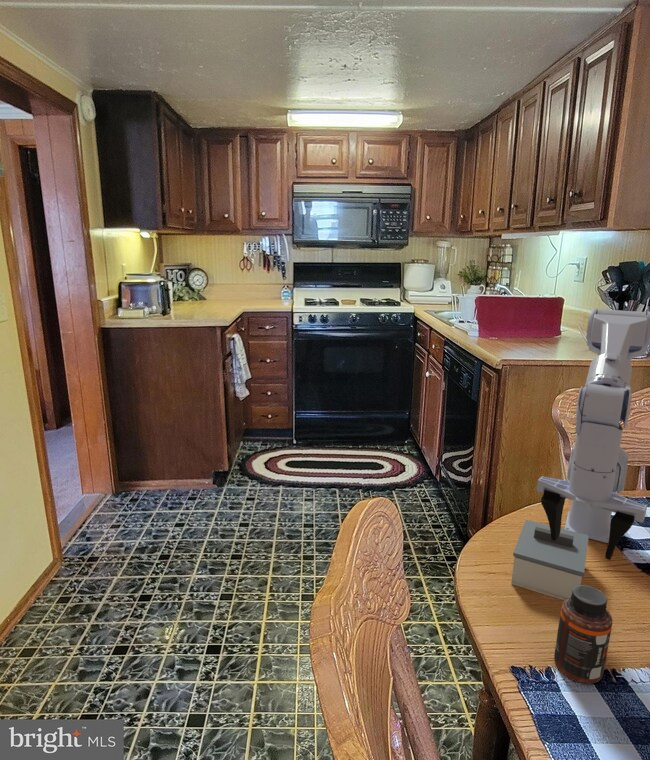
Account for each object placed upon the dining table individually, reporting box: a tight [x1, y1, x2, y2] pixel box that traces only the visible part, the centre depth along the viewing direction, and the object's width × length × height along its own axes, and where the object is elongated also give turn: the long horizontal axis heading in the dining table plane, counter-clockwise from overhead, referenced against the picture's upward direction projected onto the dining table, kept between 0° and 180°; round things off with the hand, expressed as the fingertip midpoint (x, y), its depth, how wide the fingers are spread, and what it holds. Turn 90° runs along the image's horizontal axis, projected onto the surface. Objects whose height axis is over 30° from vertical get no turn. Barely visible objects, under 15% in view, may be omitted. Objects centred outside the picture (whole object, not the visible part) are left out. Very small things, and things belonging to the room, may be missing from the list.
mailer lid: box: [512, 519, 589, 577], centre depth 86 cm, size 12×10×2 cm
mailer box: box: [510, 556, 583, 601], centre depth 87 cm, size 12×10×5 cm
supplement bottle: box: [553, 584, 613, 685], centre depth 66 cm, size 6×6×11 cm
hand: (581, 546), depth 78 cm, fingers open, 7 cm apart
